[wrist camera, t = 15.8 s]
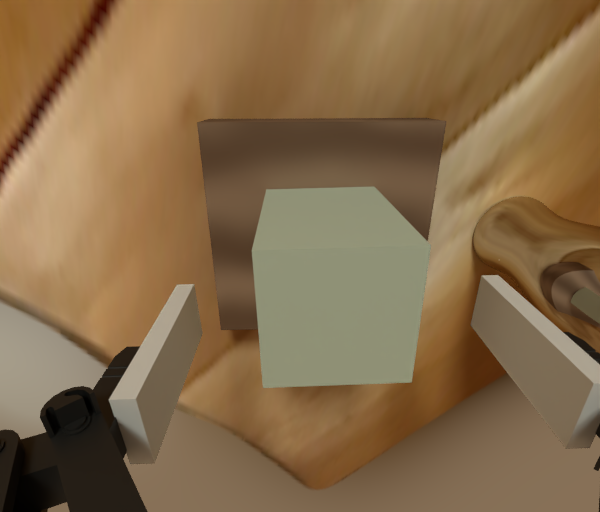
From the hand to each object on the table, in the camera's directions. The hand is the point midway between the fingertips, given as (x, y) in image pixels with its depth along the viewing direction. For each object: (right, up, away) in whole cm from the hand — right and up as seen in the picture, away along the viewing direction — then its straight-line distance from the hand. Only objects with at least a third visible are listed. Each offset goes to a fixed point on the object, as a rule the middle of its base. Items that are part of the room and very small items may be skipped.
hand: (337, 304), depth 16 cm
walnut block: (0, +5, +12) cm, 13 cm away
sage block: (0, +4, +8) cm, 9 cm away
